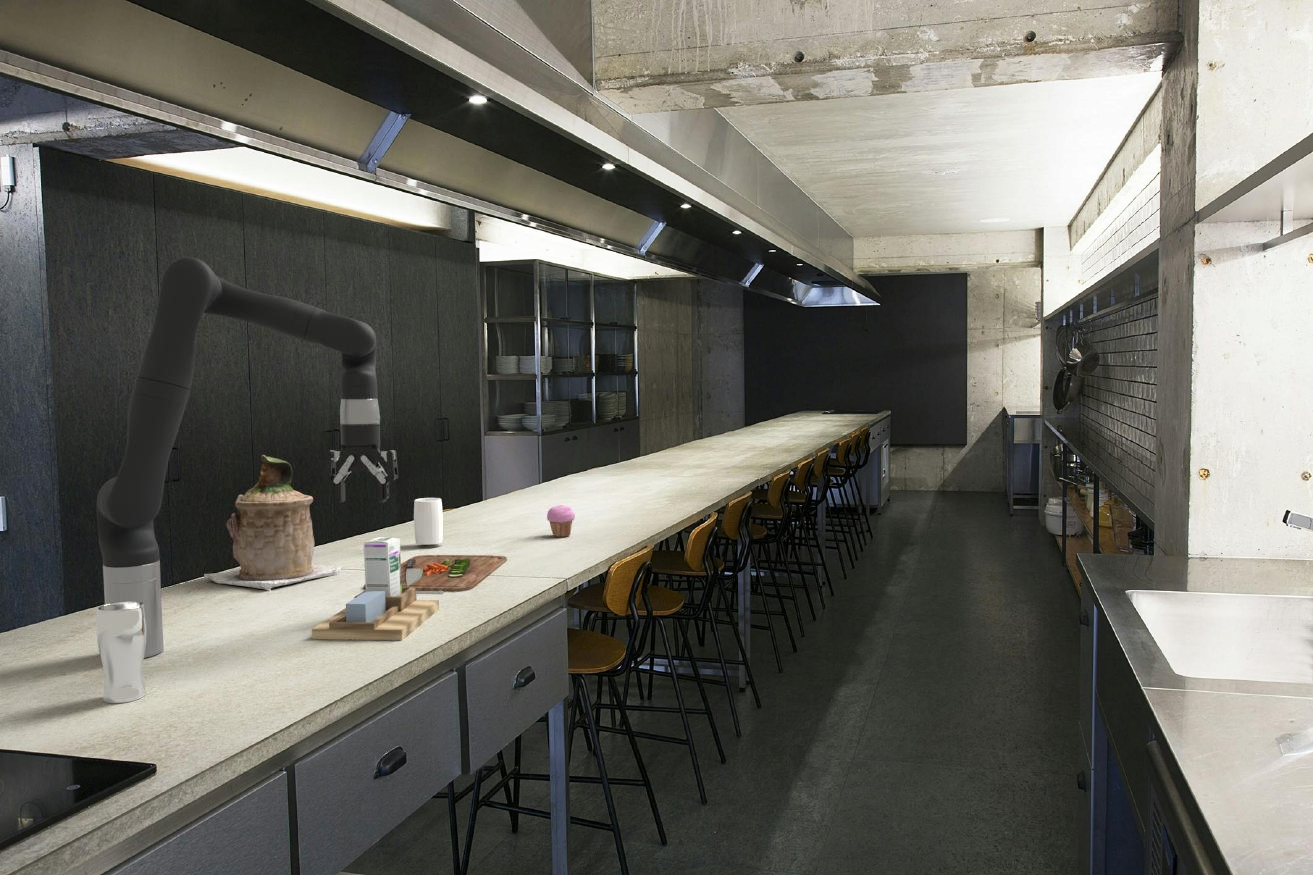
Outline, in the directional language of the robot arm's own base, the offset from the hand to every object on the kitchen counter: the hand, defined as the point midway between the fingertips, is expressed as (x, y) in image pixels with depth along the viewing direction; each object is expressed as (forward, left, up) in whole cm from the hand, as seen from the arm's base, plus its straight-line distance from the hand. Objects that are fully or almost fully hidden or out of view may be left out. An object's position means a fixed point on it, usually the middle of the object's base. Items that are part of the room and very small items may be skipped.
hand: (362, 501), depth 191 cm
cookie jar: (+47, +42, -26) cm, 69 cm away
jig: (+5, -1, -26) cm, 27 cm away
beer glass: (-41, +24, -26) cm, 55 cm away
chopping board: (+54, +1, -27) cm, 60 cm away
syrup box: (+11, 0, -24) cm, 27 cm away
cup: (+92, +16, -26) cm, 97 cm away
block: (0, 0, -24) cm, 24 cm away
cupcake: (+110, -21, -26) cm, 115 cm away
